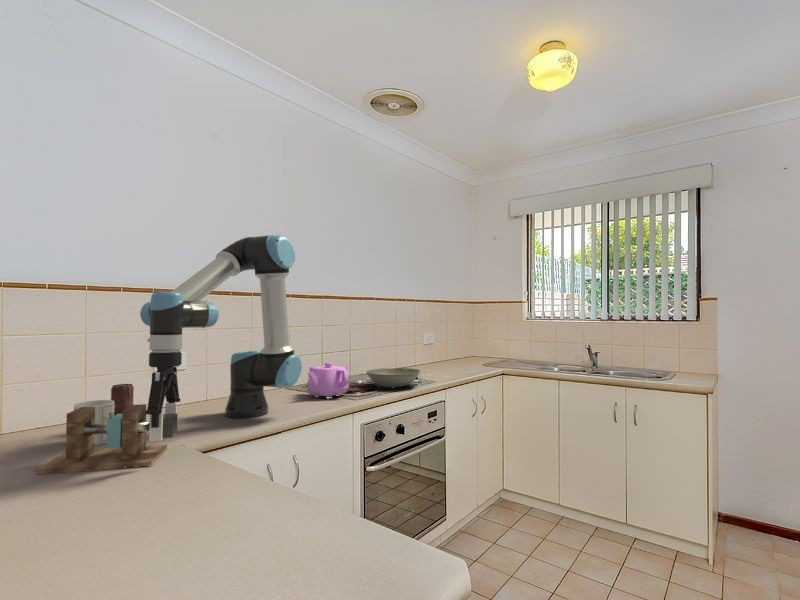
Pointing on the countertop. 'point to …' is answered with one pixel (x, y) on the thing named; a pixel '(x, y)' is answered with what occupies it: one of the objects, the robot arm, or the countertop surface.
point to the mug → (99, 415)
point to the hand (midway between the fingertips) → (163, 433)
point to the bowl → (393, 376)
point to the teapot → (328, 380)
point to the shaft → (140, 427)
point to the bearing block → (88, 458)
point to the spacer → (114, 432)
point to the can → (122, 397)
